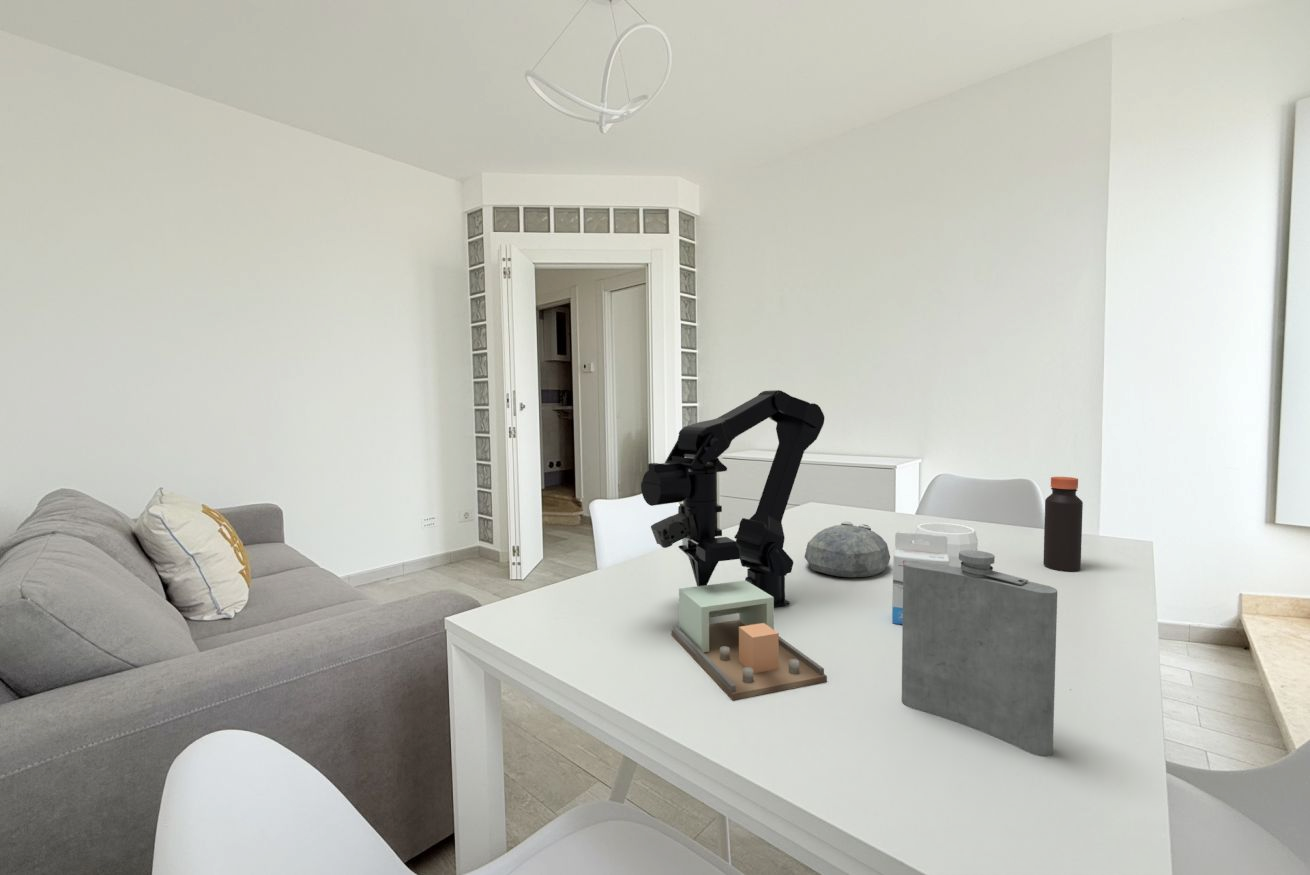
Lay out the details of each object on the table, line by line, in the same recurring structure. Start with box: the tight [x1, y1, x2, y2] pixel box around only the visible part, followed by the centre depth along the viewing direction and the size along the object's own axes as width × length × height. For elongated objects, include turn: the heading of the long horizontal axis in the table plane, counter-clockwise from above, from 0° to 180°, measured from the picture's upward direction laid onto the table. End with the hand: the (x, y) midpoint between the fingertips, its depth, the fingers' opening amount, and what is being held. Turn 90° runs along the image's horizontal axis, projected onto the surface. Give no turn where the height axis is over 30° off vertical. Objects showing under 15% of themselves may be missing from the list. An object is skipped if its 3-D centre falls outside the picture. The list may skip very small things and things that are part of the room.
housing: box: [678, 580, 775, 653], centre depth 90 cm, size 12×9×7 cm
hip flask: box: [901, 550, 1058, 757], centre depth 66 cm, size 16×4×20 cm, turn 43°
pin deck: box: [670, 619, 828, 701], centre depth 85 cm, size 14×22×2 cm, turn 19°
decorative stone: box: [804, 521, 891, 578], centre depth 129 cm, size 18×21×10 cm
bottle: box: [1042, 476, 1084, 572], centre depth 127 cm, size 7×7×20 cm
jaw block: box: [739, 623, 780, 673], centre depth 80 cm, size 4×4×5 cm
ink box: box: [891, 531, 949, 626], centre depth 97 cm, size 9×5×15 cm, turn 65°
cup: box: [913, 522, 979, 568], centre depth 125 cm, size 12×12×10 cm
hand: (701, 588), depth 99 cm, fingers closed
